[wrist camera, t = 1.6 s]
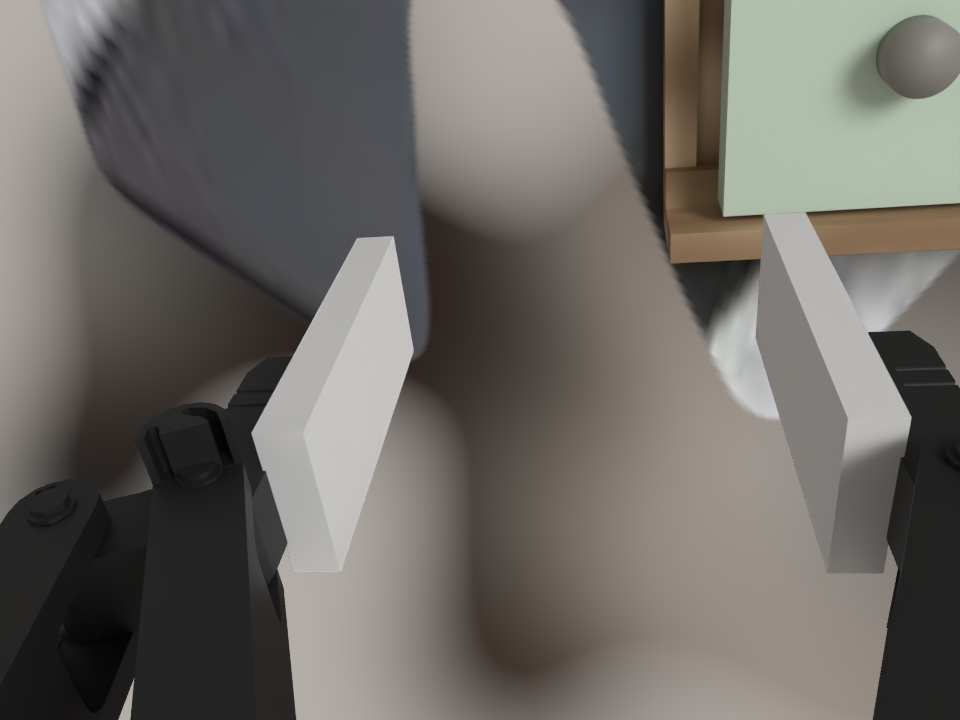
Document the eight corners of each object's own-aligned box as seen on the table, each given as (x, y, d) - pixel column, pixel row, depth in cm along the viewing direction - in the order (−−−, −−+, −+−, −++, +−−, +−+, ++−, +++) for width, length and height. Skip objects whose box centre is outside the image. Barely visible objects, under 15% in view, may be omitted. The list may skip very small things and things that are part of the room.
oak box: (663, -164, 30) (672, -159, 26) (1189, -228, 27) (1273, -232, 24) (663, 221, 37) (670, 263, 34) (1077, 197, 34) (1129, 240, 31)
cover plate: (728, -117, 29) (741, -109, 26) (1129, -162, 27) (1184, -159, 24) (717, 198, 35) (727, 229, 32) (1047, 178, 33) (1085, 209, 30)
